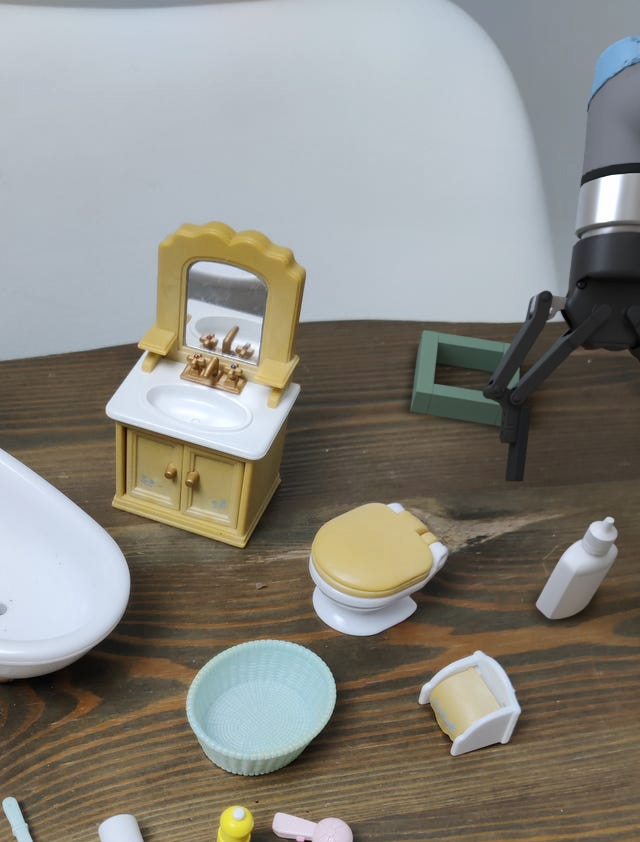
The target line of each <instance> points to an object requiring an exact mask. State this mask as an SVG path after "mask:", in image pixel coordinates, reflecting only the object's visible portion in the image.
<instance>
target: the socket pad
mask: <svg viewBox="0 0 640 842" xmlns="http://www.w3.org/2000/svg"><path fill="white" fill-rule="evenodd" d="M510 345H511V343H508V342H502V341H495V340H491V339H483V338H482V339H481V338H477V337H476V338H475V337H470V336H462V335H457V334H450V333H444V332H438V331H433V330H425V329H423V331H422V334H421V338H420V341H419V344H418V348H417V355H416V362H415V369H414V379H413V387H412V394H411V401H410V402H411V403H410V410H409V411H410V412H411V413H418V414H423V415H428V416H429V415H430V416H436V417H442V418H449V419H454V420H460V421H466V422H471V423H478V424H483V425H484V424H485V425H490V426H497V427H501V417H502V407H501V406H500V404H499V403H498V402H496V401H493V400H491V399H486V398H485V397H484V396H483V390H477V389H470V388H464V387H457V386H451V385H444V384H438V383H435V376H436V366H437V365H436V364H441V365H448V366H454V367H460V368H467V369H473V370H478V371H484V372H492V373H494V371H495V370H496V368H497V366H498V365H499V363H500V361H501V360H502V358H503V356H504V355H505V353H506V351H507V350H508V348H509V347H510ZM520 367H521V366H520ZM520 367H519V368H518V370H517V372H516V373H515V375H514V377H513V378H512V380H511V382H510V383H509V385H508V386H507V388H509V389H511V388H512V387H513V386H514V385H515V384H516V383H517V382H518V381H519V380H520V373H521V372H520Z"/></svg>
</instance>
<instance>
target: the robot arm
mask: <svg viewBox="0 0 640 842" xmlns="http://www.w3.org/2000/svg"><path fill="white" fill-rule="evenodd" d="M592 79H593V80H592V83H591V89H590V95H589V98H588V101H587V105H586V107H587V108H586V113H587V118H586V131H585V140H584V141H585V142H584V144H585V145H584V153H583V163H582V173H581V178H580V179H581V180H580V185H579V193H578V200H577V201H578V203H577V209H576V210H577V211H576V218H575V227H574V235H575V237H576V238H578V239H579V240H577V241H576V243H575V244H574V245H573V246H572V250H571V260H570V268H569V276H568V289H567V293H566V294H565V296H559V295H553V293H552V292H551V291H550V290H543V291H541V292H539V293H537V294H535V295H534V296H532V297H531V298H530V299H529V303H528V307H527V311H526V316H525V320H524V321H523V324H522V325H521V327H520V328H519V330H518V332H517V333H516V335H515V336H514V338H513V340H512V341H511V343H510V344H511V345H510V347H509V348H508V350H507V351H506V353H505V355H504V356H503V358H502V360H501V361H500V363H499V365H498V366H497V368H496V370H495V371H494V372H492V375H491V376H490V378H489V379H488V381H487V383H486V384H485V386H484V388H483V389H482V391H483V396H484V397H485V398H486V399H491V400H493V401H496V402H498V403H499V404H500V406H501V407H502V417H501V426H499V427H500V428H499V441H500V444H508V451H507V460H506V469H505V478H504V481H505V482H524V477H525V468H526V459H527V451H528V442H529V433H530V424H531V415H532V406H522V404H523V403H524V402H525V401H526V400H527V398H529V396H531V395H532V394H533V393H534V392H535V391H536V390H537V388H538V387H540V386H541V385H542V383H544V381H545V380H546V379H547V378H548V377H550V375H551V374H552V373H554V371H555V370H556V369H558V367H559V366H560V365H561V364H562V363H564V361H565V360H566V359H567V358H568V357H569V356H571V354H572V353H573V352H574V351H575V350H577V349H578V348H579V347H582V348H583V350H584V351H595V350H601V349H603V350H606V351H609V352H622V351H626V350H628V351H629V353H630V355H631V356H632V357H633V358H635V359H636V360H637V361H638V362H639V363H640V35H630V36H627V37H624V38H622V39H620V40H618V41H615V42H614V43H612V44H611V45H609V46H608V47H606V49H604V51H603V52H602V53H601V54H600V56H599V57H598V60H597V61H596V65H595V68H594V74H593V78H592ZM558 312H560V315H561V316H562V318H563V320H564V321H565V324H566V325H567V327H568V329H567V330H566V331H565V332H564V333H563V334H561V335H560V337H558V339H557V340H556V341H554V343H553V345H552V346H551V347H550V348H549V349H548V350H547V351H546V352H545V353H544V354H543V355H542V356H541V357H540V358H539V359H538V360H537V361H536V362H535V363H534V365H532V367H530V369H528V370H527V372H526V373H524V374H523V376H522V377H521V378H519V381H518V382H517V383H516V384H515V385H514V386H513V387H512V388H511V389H509V388H507V386H508V385H509V383H510V382H511V380H512V378H513V377H514V375H515V373H516V372H517V370H518V368H519V367H521V365H522V363H523V362H524V360H525V359H526V358H527V356H528V354H529V352H530V351H531V349H532V347H533V346H534V344H535V342H536V341H537V339H538V337H539V336H540V334H541V333H542V331H543V329H544V327H545V325H546V324H547V322H548V321H550V320H552V319H554V317H555V316H556V315H557V313H558Z"/></svg>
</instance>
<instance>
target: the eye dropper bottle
mask: <svg viewBox="0 0 640 842" xmlns="http://www.w3.org/2000/svg"><path fill="white" fill-rule="evenodd" d="M614 522H615V519H614V518H613V517H611V516H607V517H605V519H604V520H596V521H593V522H592V523H590V525H589V526H588V528H587V530H586V531H585V534H584V535H583V537H582V538H581V539H579V540H577V541H575V542H574V543H572V544H571V545H570V546H569V547H568V548H567V549H566V550H565V551H564V552H563V554H562V555H561V557H560V558H559V560H558V562H557V563H556V565H555V566H554V569H553V571H552V573H551V574H550V576H549V578H548V580H547V581H546V584H545V585H544V587H543V589H542V590H541V593H540V595H539V597H538V599H537V601H536V602H535V607H536V608H537V609H538V611H540V612H541V613H542V615H544V616H545V617H546V618H548V619H549V620H561V619H565V618H570V617H571V616H575V615H576V614H578V613H580V612H582V610H584V609H585V608H586V607H587V606H588V605H589V603H590V602H591V600H592V599H593V597H594V595H596V592H597V590H598V588H599V587H600V586H601V584H602V582H603V580H604V579H605V577H606V576H607V574H608V572H609V570H610V569H611V567H612V566H613V564H614V562H615V560H616V559H617V556H618V554H619V550H618V547H617V546H616V545H615V544H614V543H615V542H616V540H617V538H618V533H619V532H618V530H617V528H616V527H615V526H614Z"/></svg>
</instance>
